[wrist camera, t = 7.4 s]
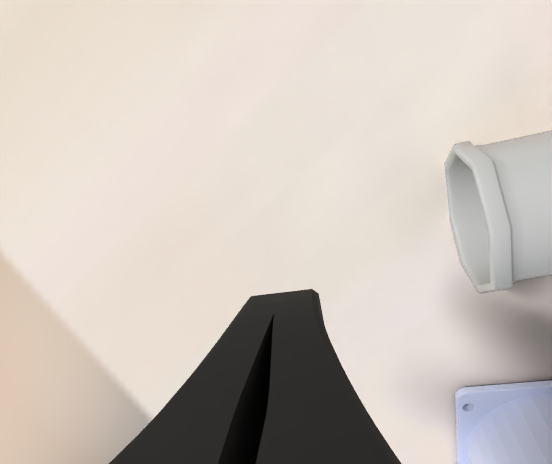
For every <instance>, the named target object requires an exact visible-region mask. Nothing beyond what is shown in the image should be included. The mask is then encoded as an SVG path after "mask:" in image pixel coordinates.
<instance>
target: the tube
mask: <svg viewBox="0 0 552 464" xmlns="http://www.w3.org/2000/svg"><path fill="white" fill-rule="evenodd" d="M444 165H445V175H446V185H447V196H448V207H449V218H450V223H451V227H452V231H453V235H454V239H455V244H456V248H457V252H458V256H459V260H460V263H461V265H462V267H463V268H464V270H465V272H466V273H467V275H468V277H469V278H470V280H471V282H472V283H473V285H474V287H475V289H476V290H477V292H478V293H486V292H493V291H499V290H504V289H510V288H512V285H513V283H514V282H515V281H518V280H524V279H530V278H536V277H542V276H549V275H552V131H547V132H542V133H538V134H533V135H528V136H524V137H519V138H514V139H510V140H505V141H500V142H496V143H491V144H486V145H478V146H474V145H473V144H472V143H471V142H469V141H468V142H462V143H457V144H455V145H454V146H453V147H452V149H451V151H450V153H449V155H448V157H447V159H446V161H445V163H444Z"/></svg>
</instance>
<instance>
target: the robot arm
mask: <svg viewBox="0 0 552 464" xmlns="http://www.w3.org/2000/svg"><path fill="white" fill-rule="evenodd" d="M465 404H468V405H465ZM455 408H456V445H457V464H552V380H549V381H536V382H524V383H511V384H499V385H486V386H474V387H464V388H461V389H459V390H458V391H457V392H456V394H455ZM109 464H401V462H400V461H399V459H398V458H397V457H396V455H395V454H394V452H393V451H392V449H391V448H390V446H389V445H388V443H387V442H386V440H385V439H384V437H383V436H382V434H381V433H380V431H379V430H378V428H377V427H376V425H375V424H374V422H373V420H372V419H371V417H370V416H369V414H368V412H367V411H366V409H365V407H364V406H363V404H362V402H361V401H360V399H359V397H358V395H357V393H356V392H355V390H354V388H353V386H352V385H351V383H350V381H349V379H348V377H347V375H346V373H345V371H344V369H343V368H342V366H341V363H340V361H339V359H338V357H337V355H336V353H335V350H334V348H333V346H332V344H331V342H330V339H329V337H328V334H327V332H326V329H325V326H324V321H323V315H322V310H321V305H320V299H319V294H318V293H317V292H315V291H314V290H313V289H309V290H300V291H292V292H283V293H275V294H266V295H258V296H251V297H250V298H249V300H248V301H247V302H246V303H245V305H244V306H243V307H242V309H241V310H240V311H239V313H238V314H237V316H236V317H235V318H234V320H233V321H232V322H231V324H230V325H229V327H228V328H227V329H226V331H225V332H224V333H223V335H222V336H221V337H220V339H219V340H218V341H217V343H216V344H215V345H214V347H213V348H212V349H211V351H210V352H209V353H208V354H207V356H206V357H205V358H204V360H203V361H202V362H201V363H200V365H199V366H198V367H197V369H196V370H195V371H194V372H193V374H192V375H191V376H190V377H189V379H188V380H187V381H186V382H185V383H184V384H183V386H182V387H181V388H180V389H179V390H178V391H177V393H176V394H175V395H174V396H173V397H172V398H171V400H170V401H169V402H168V403H167V404H166V405H165V407H164V408H163V409H162V410H161V411H160V412H159V413H158V415H157V416H156V417H155V418H154V419H153V420H152V421H151V422H150V423H149V424H148V425H147V426H146V427H145V429H143V430H142V431H141V433H140V434H139V435H138V436H137V437H136V438H135V439H134V440H133V441H132V442H131V443H130V444H129V445H128V446H126V448H124V450H123V451H122V452H121V453H119V454H118V455H117V456H116V457H115V458H114V459H113V460H112V461H111V462H110V463H109Z"/></svg>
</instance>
